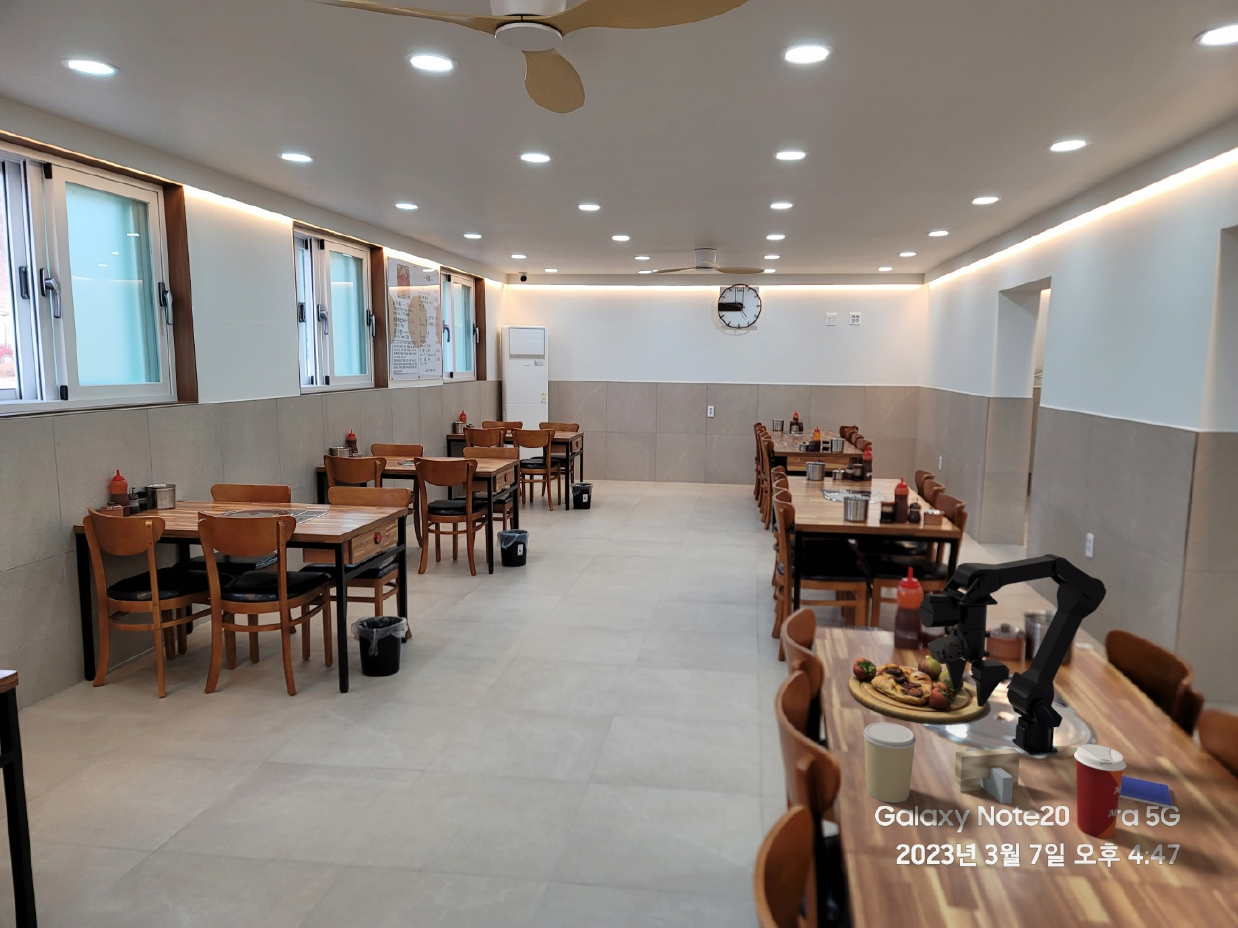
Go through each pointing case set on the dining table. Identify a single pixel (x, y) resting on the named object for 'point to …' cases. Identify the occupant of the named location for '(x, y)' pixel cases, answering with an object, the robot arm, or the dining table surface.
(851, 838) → the dining table surface
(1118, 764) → the paper cup
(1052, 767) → the dining table surface
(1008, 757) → the birch plate
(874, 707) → the wooden plate with food
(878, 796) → the coffee cup
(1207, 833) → the dining table surface
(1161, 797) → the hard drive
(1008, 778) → the gray u-shaped block
